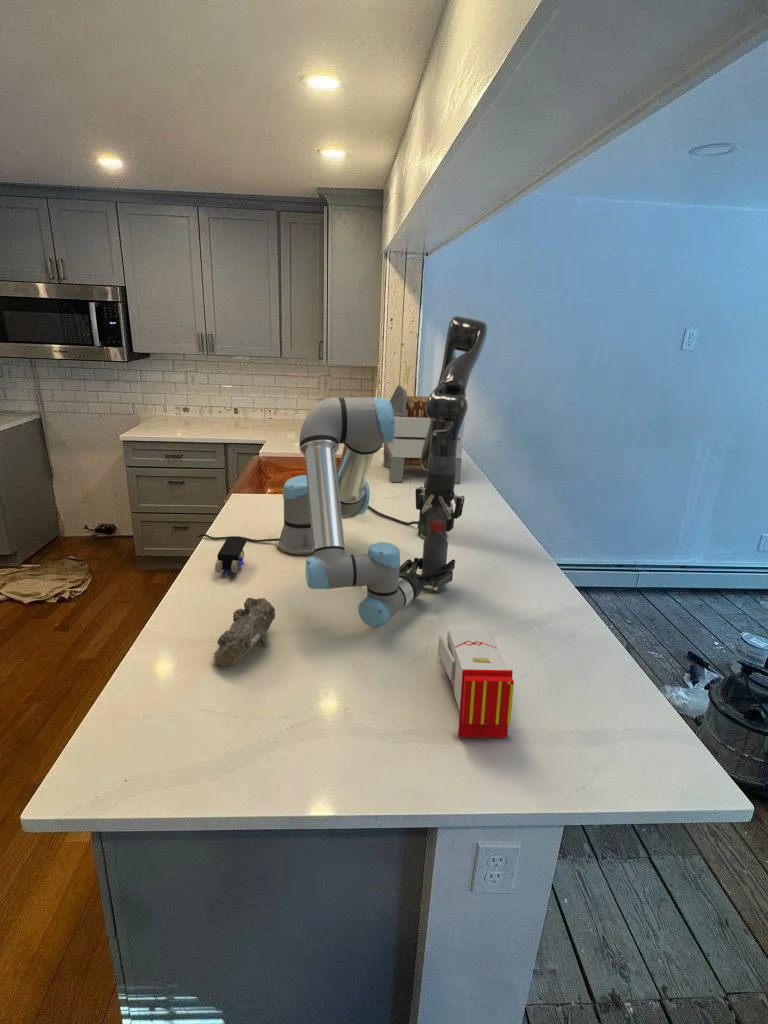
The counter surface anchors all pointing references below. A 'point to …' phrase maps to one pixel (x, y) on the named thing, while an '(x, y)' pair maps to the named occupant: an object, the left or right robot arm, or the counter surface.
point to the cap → (437, 525)
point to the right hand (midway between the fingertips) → (436, 527)
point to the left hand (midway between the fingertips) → (441, 560)
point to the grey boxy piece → (411, 435)
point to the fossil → (245, 630)
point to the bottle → (434, 554)
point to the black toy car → (230, 556)
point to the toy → (478, 682)
